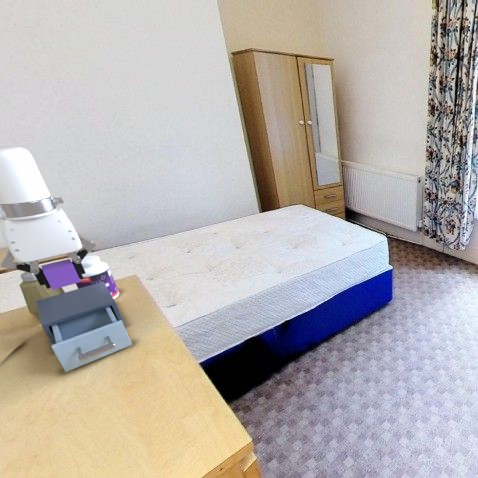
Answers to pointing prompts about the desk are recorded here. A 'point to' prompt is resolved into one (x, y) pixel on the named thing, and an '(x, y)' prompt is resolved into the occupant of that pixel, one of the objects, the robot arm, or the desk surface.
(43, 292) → the squeeze bottle
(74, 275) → the block
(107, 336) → the pull-out drawer
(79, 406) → the desk surface
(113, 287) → the pill bottle
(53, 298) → the dark grey drawer cabinet
